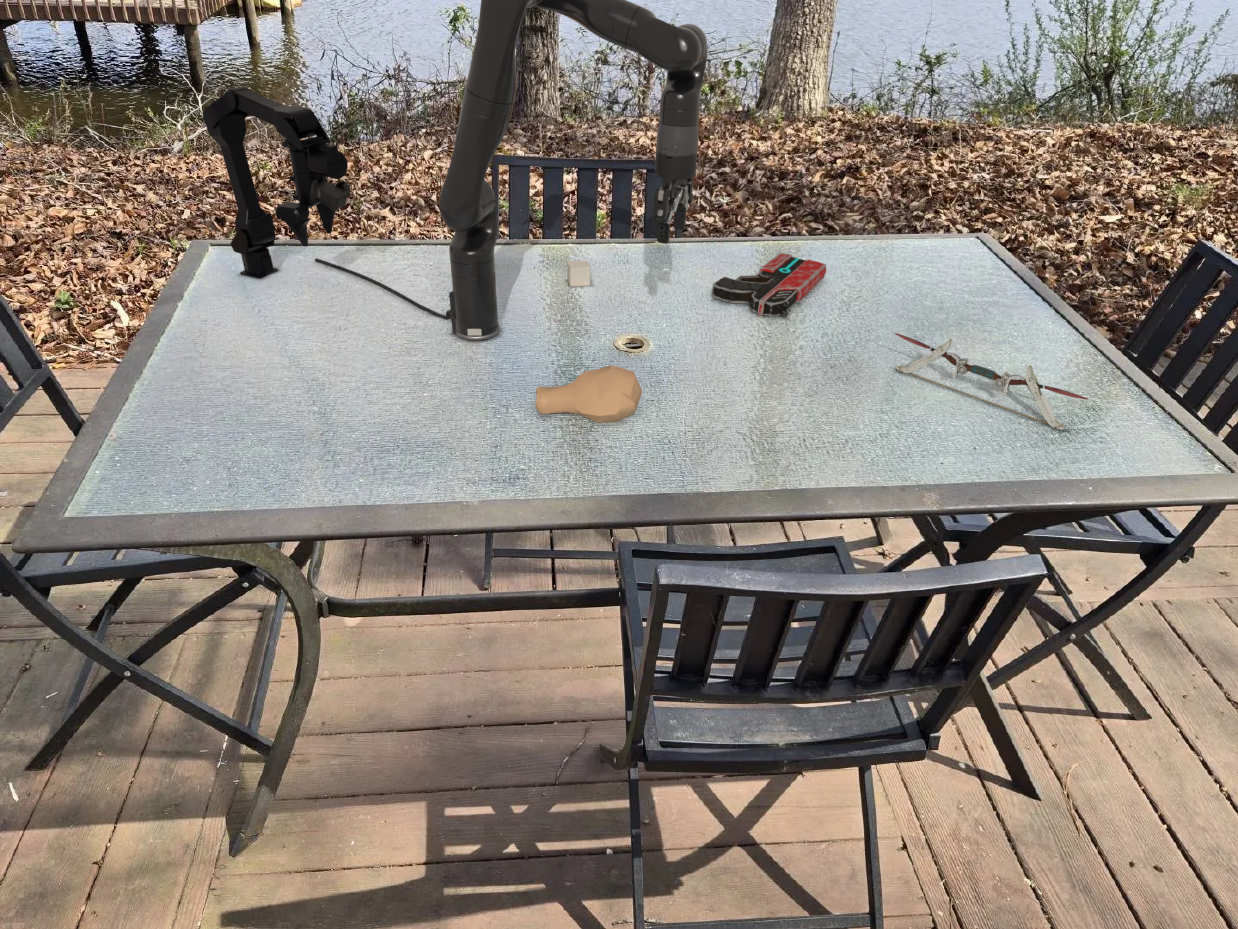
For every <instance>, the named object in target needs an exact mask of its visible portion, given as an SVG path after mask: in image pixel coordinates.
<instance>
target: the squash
mask: <svg viewBox="0 0 1238 929" xmlns="http://www.w3.org/2000/svg"><path fill="white" fill-rule="evenodd" d="M642 393H643V390H642V387H641V386H640V383H639V380H638V378H637V376H636V373H635V372H634V371H632V370H629V369H627V368H623V367H621V366H615V365H611V364H610V365H607V366H603V367H601V368H596V369H591V370H585V371H584V372H582V373H580V374H579V375H578V376H577V377H576V378H575V379H574V380H572V381H571V382H569V383H568V384H566V385H556V386H538V387H536V388H535V396H536V400H535V405H534V408H535V410H537V412H538V414H540V415H549V414H557V413H558V414H559V413H561V414H562V413H570V414H575V415H576V414H577V415H580V416H582V417H584V418H586V419H588V420H590V421H593V422H596V423H598V424H602V423H617V422H620V421H622V420H624V419H625V418H627V417H629V416H631V415H633V414H635V413H636V412H637V409H638V406H639V403H640V399H641V397H642Z"/></svg>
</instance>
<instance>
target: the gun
mask: <svg viewBox="0 0 1238 929" xmlns="http://www.w3.org/2000/svg"><path fill="white" fill-rule="evenodd" d="M826 273H827V264H826V263H823V262H820V261H816V260H812V259H802V258H799V257H795V256H793V255H792V254H791V253H784V252H780V253H778V254H777V255H775V256H774V257H773V258H771V259H770V260H768V261H767V262H766V263H765V264H763V265H762V266H761V267H760V269H759V271H758V273H757V274H756V275H753V274H752V275H751V274H750V275H740V276H738V277H737V278H735V279H734V278H731V277H727V276H722V277H720V279H717V281H715V282H713V283H712V291H711V297H713V298H714V299H716V300H719V301H723V302H727V303H730V304H750V305H749V308H750V310H751V312H753V313H755V314H757V315H758V316H760V317H761V316H765V317H770V318H771V317H777V316H780V317H784V318H787V317H788V315H789V311H788V310H790V309H791V308H792V307H793V306H794V305H795V304H798V303H799V302H801V301H802V300H803V299H804V298H805V297H807V296H808V295H809V294H810V293H811V292H812V291H813V290H814V289H815V287H817V285H818V284H820V283H821V282H822V280H823V279H824V278H825V276H826Z"/></svg>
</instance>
